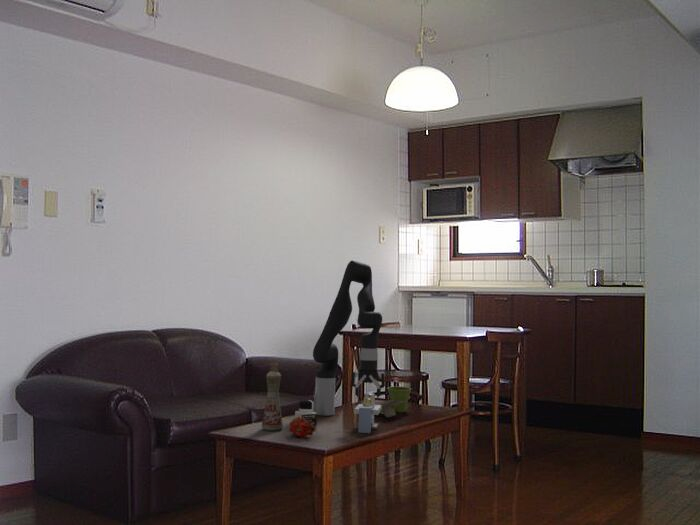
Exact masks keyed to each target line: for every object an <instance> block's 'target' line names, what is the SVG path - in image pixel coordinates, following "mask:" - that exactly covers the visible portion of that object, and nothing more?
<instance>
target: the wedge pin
mask: <svg viewBox="0 0 700 525" xmlns="http://www.w3.org/2000/svg"><path fill="white" fill-rule="evenodd" d="M364 400H365V406H371V398H365V397H364Z"/></svg>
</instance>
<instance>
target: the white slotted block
mask: <svg viewBox="0 0 700 525" xmlns="http://www.w3.org/2000/svg"><path fill="white" fill-rule="evenodd" d="M402 402H404V401H399V402H395V400H390V399H387V400H385V401H384V402H382V403H379V404H378V405H382V410H381V411H380V413H379V414H381V413H382V414H383V415H384V416H385V418H393V417H394V416H396V415H397V412H395V410H394V406H396V405H398V404H400V403H402Z"/></svg>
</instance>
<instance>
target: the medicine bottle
mask: <svg viewBox="0 0 700 525" xmlns="http://www.w3.org/2000/svg"><path fill="white" fill-rule="evenodd" d="M297 417H299V418H302V417H303V418H305V419H306V420H308V421H310V422H311V423H312V425H313V426H314V428H315V431H316V430H317V429H318V426H317V425H318V415H317V413H315V412H314V400H311V399H301V400H299V403H298V410H296V411H294V418H297Z"/></svg>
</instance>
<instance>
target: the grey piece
mask: <svg viewBox="0 0 700 525" xmlns="http://www.w3.org/2000/svg"><path fill="white" fill-rule="evenodd" d="M375 394H376V393H372V392H371V393H369V392H367V393H364V399H363V400H364V402H363V403H358V404H357V405H356V406H355V407H354V411H353V412H354V414H355V415H359V407H360V406H361V405H362V404H365V398H371V404H374V408H373V409H372V411H371V429H377V427H378V426H379V423H375V415H376V416H379V414H381V413H380V411H381V410H382V405H379V404H375V400H376V395H375Z"/></svg>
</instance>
